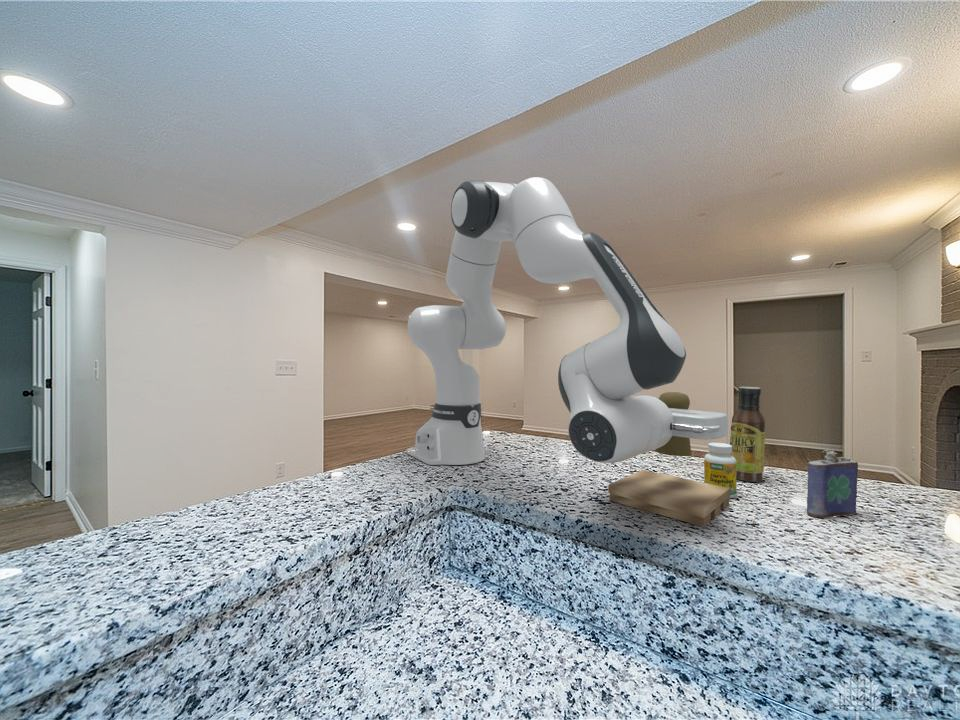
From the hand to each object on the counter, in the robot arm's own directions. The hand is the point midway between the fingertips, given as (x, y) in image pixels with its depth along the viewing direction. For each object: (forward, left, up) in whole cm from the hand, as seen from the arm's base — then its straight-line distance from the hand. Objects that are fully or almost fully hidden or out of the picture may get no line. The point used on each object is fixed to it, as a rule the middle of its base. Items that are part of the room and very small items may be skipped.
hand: (675, 414), depth 75 cm
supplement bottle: (+5, +9, -16) cm, 19 cm away
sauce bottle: (+6, +24, -16) cm, 29 cm away
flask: (+21, +12, -16) cm, 29 cm away
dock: (0, -3, -16) cm, 16 cm away
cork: (0, -1, -7) cm, 7 cm away
